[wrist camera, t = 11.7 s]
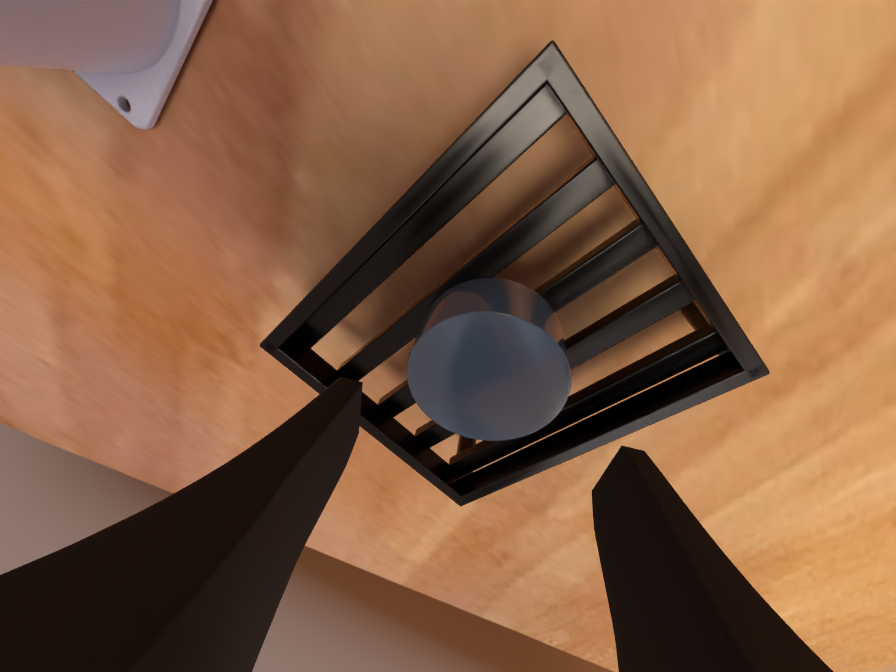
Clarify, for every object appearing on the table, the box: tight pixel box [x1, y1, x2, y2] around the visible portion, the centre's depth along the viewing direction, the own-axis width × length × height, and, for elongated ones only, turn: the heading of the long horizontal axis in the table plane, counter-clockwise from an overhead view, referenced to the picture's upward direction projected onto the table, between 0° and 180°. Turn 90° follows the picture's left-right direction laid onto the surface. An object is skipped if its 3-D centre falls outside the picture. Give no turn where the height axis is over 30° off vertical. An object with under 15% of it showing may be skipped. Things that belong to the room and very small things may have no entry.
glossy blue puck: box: [407, 278, 571, 441], centre depth 14 cm, size 6×6×3 cm
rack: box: [260, 40, 770, 506], centre depth 16 cm, size 12×14×4 cm
